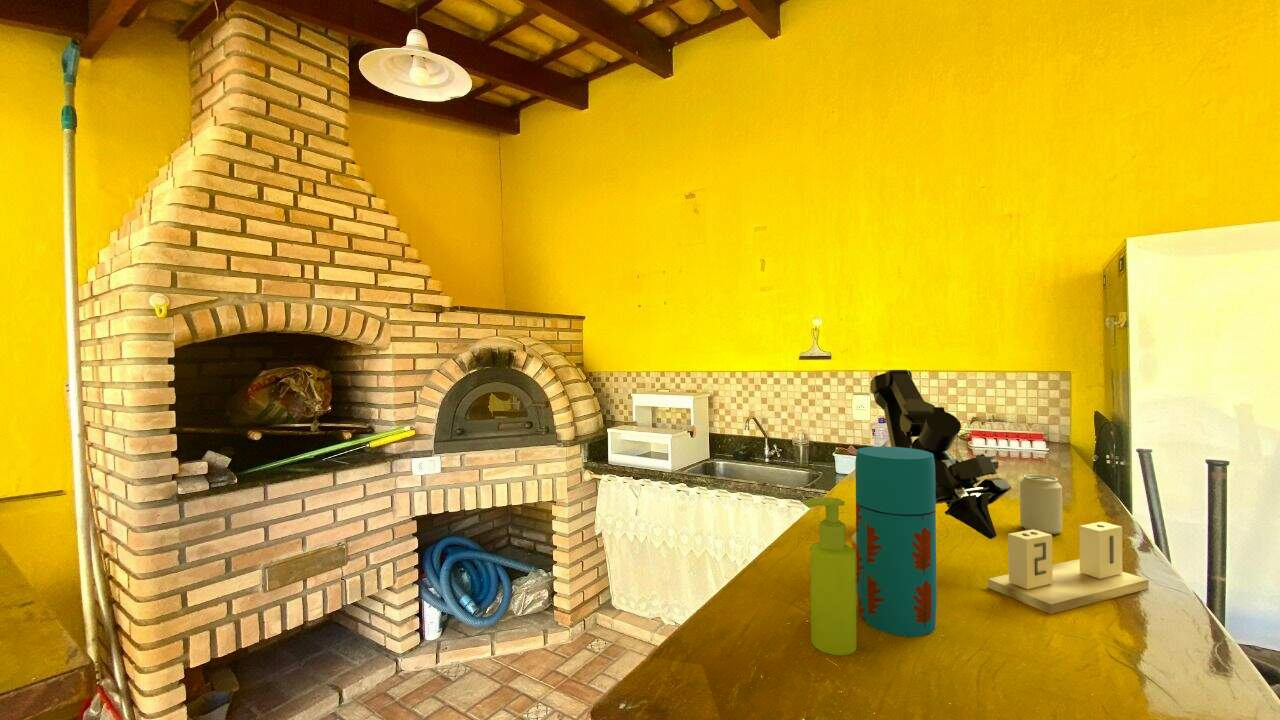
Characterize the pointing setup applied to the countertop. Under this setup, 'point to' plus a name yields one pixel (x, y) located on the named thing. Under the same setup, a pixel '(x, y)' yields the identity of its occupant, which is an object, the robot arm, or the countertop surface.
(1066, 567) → the beige wooden board
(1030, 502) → the can
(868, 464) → the thermos
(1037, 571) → the cream numbered block 2
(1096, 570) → the cream numbered block 1
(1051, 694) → the countertop surface
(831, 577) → the soap dispenser
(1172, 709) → the countertop surface
